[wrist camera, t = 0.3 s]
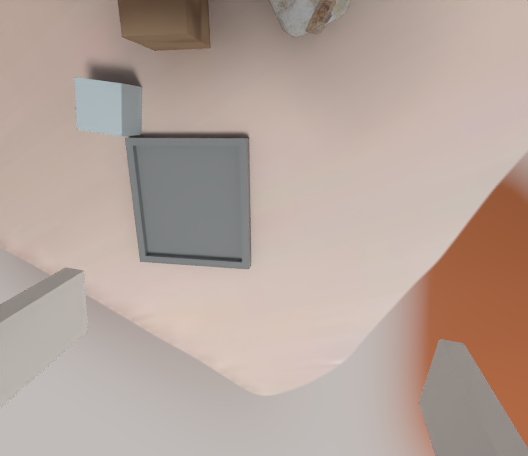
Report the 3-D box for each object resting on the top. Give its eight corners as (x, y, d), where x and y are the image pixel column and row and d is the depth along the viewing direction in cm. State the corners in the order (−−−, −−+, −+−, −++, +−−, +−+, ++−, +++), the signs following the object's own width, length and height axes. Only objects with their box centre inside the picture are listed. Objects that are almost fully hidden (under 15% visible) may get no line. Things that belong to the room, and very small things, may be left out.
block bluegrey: (100, 81, 37) (74, 77, 33) (142, 87, 36) (121, 83, 33) (101, 128, 39) (77, 129, 35) (142, 134, 38) (121, 136, 34)
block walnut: (149, -18, 33) (112, -46, 28) (207, -22, 32) (182, -53, 27) (155, 50, 35) (121, 36, 29) (210, 48, 34) (187, 33, 28)
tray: (130, 137, 38) (124, 138, 37) (248, 137, 36) (246, 138, 35) (145, 257, 42) (140, 261, 41) (251, 265, 40) (248, 269, 39)
